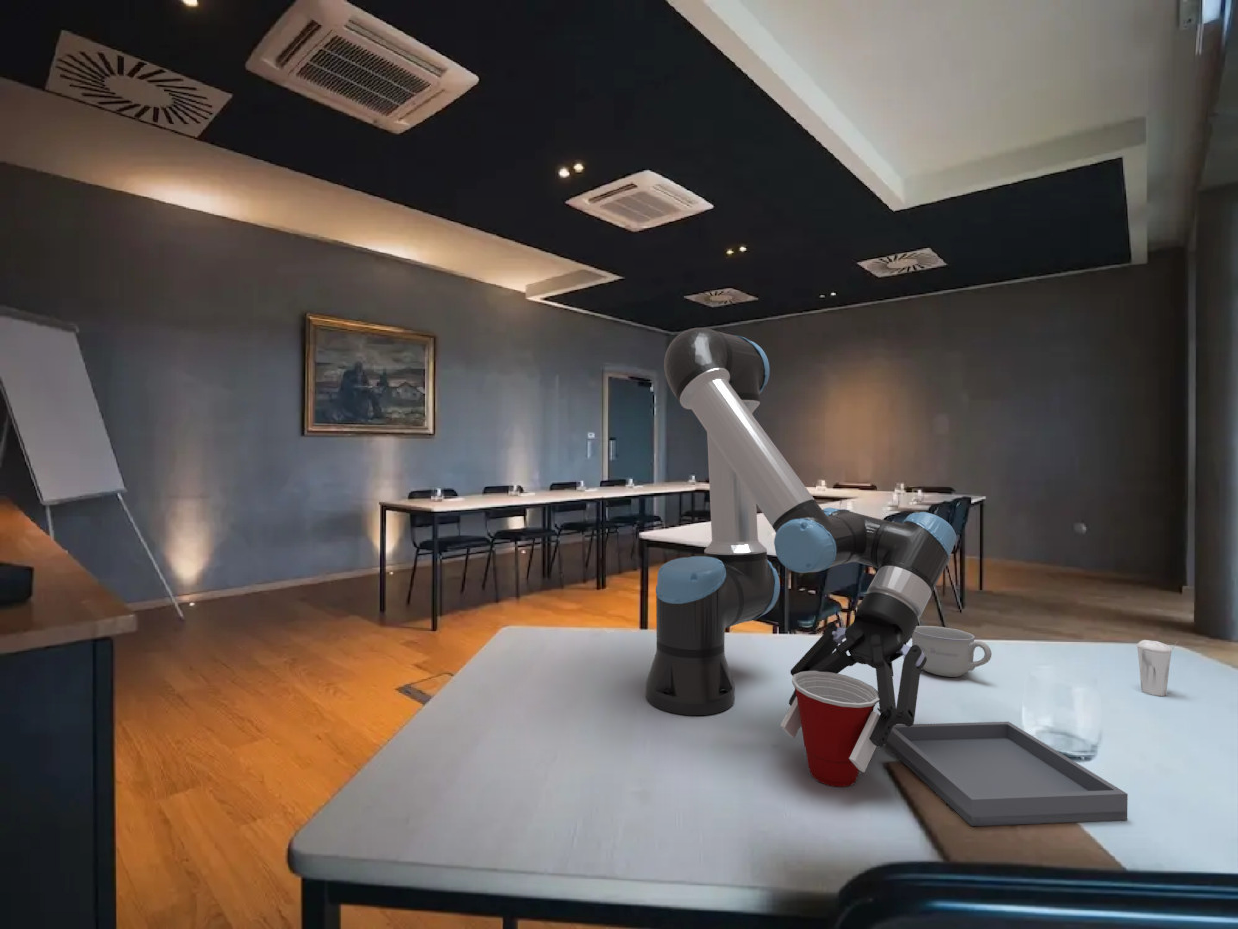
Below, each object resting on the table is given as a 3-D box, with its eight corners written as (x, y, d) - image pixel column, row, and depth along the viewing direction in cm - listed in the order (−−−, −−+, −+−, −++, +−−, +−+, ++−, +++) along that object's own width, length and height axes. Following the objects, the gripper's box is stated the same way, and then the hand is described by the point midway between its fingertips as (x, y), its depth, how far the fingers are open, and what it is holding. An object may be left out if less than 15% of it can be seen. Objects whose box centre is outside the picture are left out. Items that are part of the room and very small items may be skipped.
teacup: (899, 666, 117) (899, 626, 117) (937, 659, 122) (937, 620, 121) (964, 692, 104) (964, 647, 104) (1004, 683, 109) (1005, 640, 109)
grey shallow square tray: (971, 826, 66) (971, 799, 66) (885, 745, 84) (885, 725, 84) (1127, 820, 67) (1127, 794, 67) (1008, 742, 86) (1008, 721, 86)
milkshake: (1175, 701, 101) (1176, 643, 101) (1134, 692, 105) (1135, 636, 105) (1179, 694, 104) (1179, 638, 104) (1138, 685, 108) (1139, 631, 108)
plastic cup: (890, 804, 70) (890, 703, 70) (795, 793, 72) (795, 696, 72) (870, 759, 81) (870, 671, 81) (788, 751, 83) (788, 666, 83)
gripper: (985, 642, 76) (917, 805, 67) (835, 606, 94) (766, 729, 85) (965, 607, 73) (891, 772, 64) (814, 576, 91) (740, 701, 82)
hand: (819, 747), depth 75 cm, fingers closed on plastic cup, 10 cm apart
